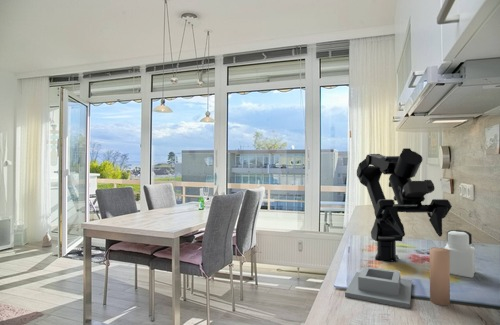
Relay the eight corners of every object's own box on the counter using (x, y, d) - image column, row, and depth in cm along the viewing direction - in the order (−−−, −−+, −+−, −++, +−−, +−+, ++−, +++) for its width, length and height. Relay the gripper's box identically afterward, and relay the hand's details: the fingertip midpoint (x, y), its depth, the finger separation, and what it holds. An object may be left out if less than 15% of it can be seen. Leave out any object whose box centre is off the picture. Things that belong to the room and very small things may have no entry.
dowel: (429, 296, 77) (429, 246, 77) (449, 299, 75) (448, 248, 75) (430, 303, 73) (429, 250, 73) (450, 306, 72) (450, 252, 72)
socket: (356, 275, 92) (356, 261, 92) (411, 283, 85) (411, 268, 85) (345, 296, 77) (344, 279, 77) (409, 308, 71) (409, 290, 71)
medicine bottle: (447, 266, 99) (446, 227, 98) (475, 271, 94) (475, 230, 94) (443, 273, 93) (442, 231, 93) (472, 278, 88) (472, 234, 88)
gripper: (377, 170, 88) (393, 217, 77) (447, 169, 87) (474, 217, 76) (368, 195, 96) (382, 241, 85) (432, 195, 95) (455, 242, 84)
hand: (422, 235), depth 82 cm, fingers open, 9 cm apart
